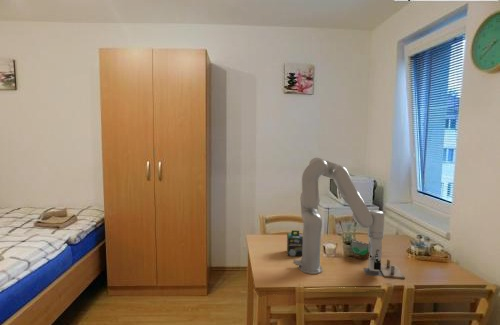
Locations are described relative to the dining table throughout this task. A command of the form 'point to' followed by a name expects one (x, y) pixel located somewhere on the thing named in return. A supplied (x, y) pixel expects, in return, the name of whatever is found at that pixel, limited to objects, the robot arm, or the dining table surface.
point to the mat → (371, 273)
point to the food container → (360, 250)
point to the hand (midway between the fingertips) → (374, 265)
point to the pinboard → (391, 271)
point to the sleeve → (372, 266)
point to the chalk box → (294, 244)
